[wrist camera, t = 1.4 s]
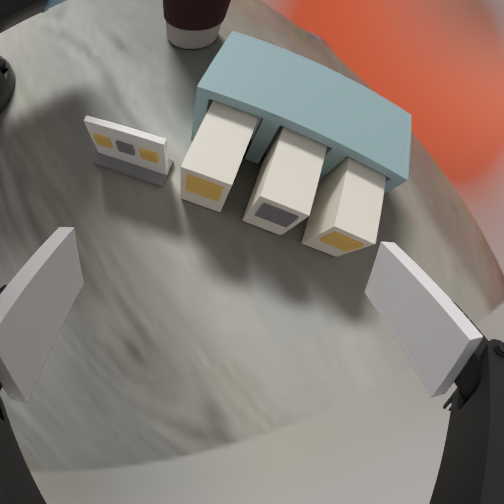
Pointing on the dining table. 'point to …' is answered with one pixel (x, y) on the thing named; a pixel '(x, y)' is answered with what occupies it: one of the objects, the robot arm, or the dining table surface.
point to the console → (306, 106)
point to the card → (130, 151)
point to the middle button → (285, 182)
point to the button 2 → (345, 209)
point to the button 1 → (216, 155)
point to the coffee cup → (194, 21)
